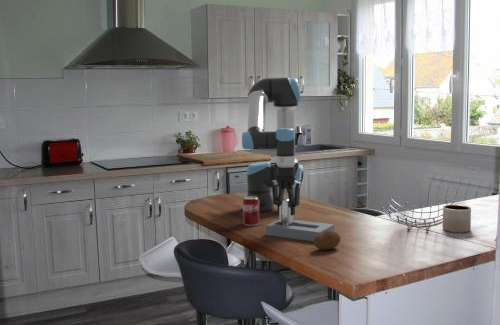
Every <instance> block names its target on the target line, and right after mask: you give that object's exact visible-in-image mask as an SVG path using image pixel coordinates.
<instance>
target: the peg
mask: <svg viewBox="0 0 500 325" xmlns="http://www.w3.org/2000/svg"><path fill="white" fill-rule="evenodd" d="M289 207H290V203H289V198H283V199H282V225H286V226H291V223H289V212H288V208H289Z"/></svg>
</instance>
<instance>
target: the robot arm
mask: <svg viewBox="0 0 500 325" xmlns="http://www.w3.org/2000/svg"><path fill="white" fill-rule="evenodd" d="M247 93H248V94H247V103H248V119H247V130H246V131H244V132H242V135H241V144H242V145H241V146H242V149H244V150H250V151H252V150H255V151H256V150H276V159H275V160H274V164H271V162H270V161H257V162H254V163H251V164H249V165H248V166H247V169H246V170H247V171H246V176H247V181H246V182H247V187H246V188H247V194H246V197H248V196H255V197H258V198H259V213H261V212H270V211H273V210H275V206H277V214H278V215H279V216H278V217H279V219H278V220H280V222H282V199H284V197H285V196H284V195H285V190H286V191H287V192H286V193H287V198H288V199H289V203H290V207H289V208H288V212H289V223H292V222H293V220H294V215H296V207H299V205H300V198H301V197H300V196H301V186H302V182H300V180H301V173H302V164H300V163H299V160H298V159H297V158H296V120H295V118H296V109H297V107H298V106H299V103H301V99H302V98H301V92H300V84H299V81H298V79H297V78H296V77H271V78H268V77H266V78H263V79H259V80H258V81H257V82H255V83H254V84H253V85H252V86H251V88H250V89H249V91H248V92H247ZM269 103H273V107H274V108H275V109H276V127H277V128H276V131H265V130H266V106H267V104H269Z"/></svg>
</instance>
